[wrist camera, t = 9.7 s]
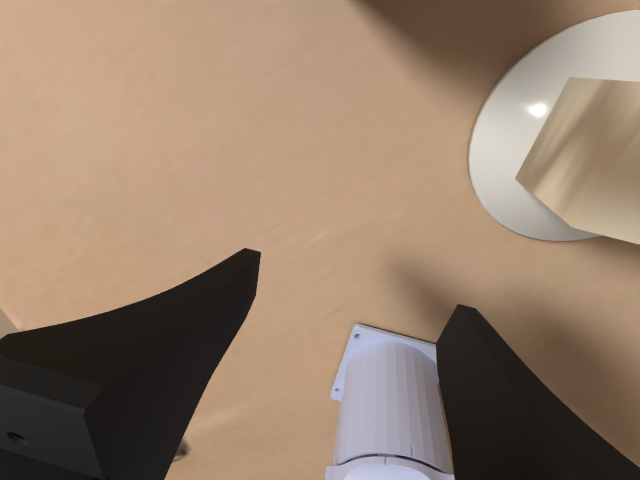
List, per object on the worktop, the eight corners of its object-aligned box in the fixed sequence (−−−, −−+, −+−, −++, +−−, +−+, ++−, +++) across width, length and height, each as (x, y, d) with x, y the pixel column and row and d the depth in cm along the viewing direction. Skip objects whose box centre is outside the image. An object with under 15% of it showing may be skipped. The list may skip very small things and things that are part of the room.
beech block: (607, 201, 17) (706, 261, 12) (514, 178, 17) (571, 227, 12) (679, 101, 14) (844, 123, 9) (569, 76, 15) (671, 84, 10)
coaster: (617, 254, 19) (626, 261, 18) (436, 209, 20) (438, 214, 19) (789, 42, 14) (811, 41, 13) (531, -13, 14) (538, -17, 13)
